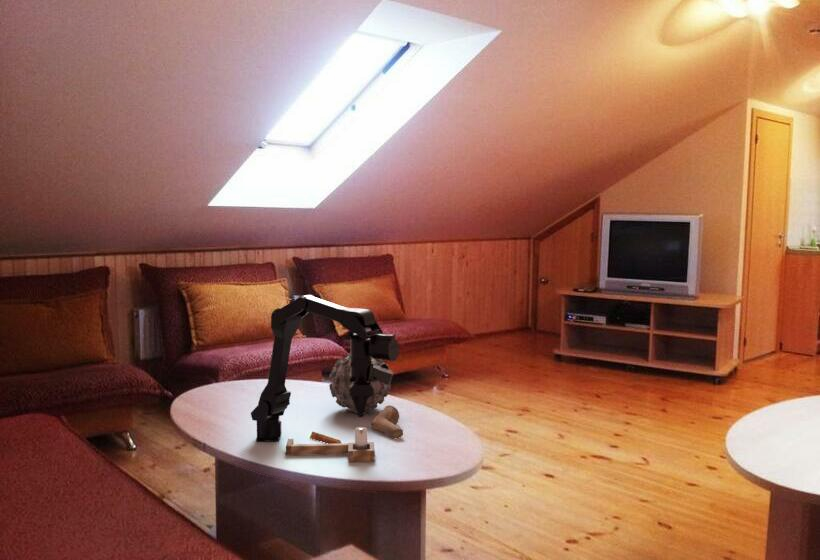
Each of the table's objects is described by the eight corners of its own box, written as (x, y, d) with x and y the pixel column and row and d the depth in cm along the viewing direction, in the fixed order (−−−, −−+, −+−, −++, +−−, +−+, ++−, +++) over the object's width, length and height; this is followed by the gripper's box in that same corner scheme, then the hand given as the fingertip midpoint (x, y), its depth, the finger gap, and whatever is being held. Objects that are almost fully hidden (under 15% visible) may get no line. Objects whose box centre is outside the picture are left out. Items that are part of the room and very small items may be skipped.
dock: (283, 463, 188) (283, 452, 188) (288, 447, 201) (287, 437, 200) (374, 461, 190) (374, 450, 189) (373, 445, 203) (373, 435, 202)
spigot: (355, 459, 191) (355, 430, 190) (355, 455, 194) (355, 427, 194) (367, 459, 191) (367, 430, 191) (367, 455, 195) (366, 426, 194)
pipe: (391, 425, 206) (419, 414, 212) (361, 411, 220) (388, 402, 225) (394, 446, 208) (421, 434, 213) (364, 431, 221) (391, 421, 227)
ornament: (378, 400, 250) (378, 344, 249) (397, 416, 232) (398, 356, 230) (323, 406, 244) (323, 348, 242) (338, 422, 225) (338, 360, 223)
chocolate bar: (336, 449, 201) (336, 441, 201) (309, 439, 209) (308, 432, 209) (343, 446, 203) (343, 439, 203) (315, 437, 211) (315, 430, 211)
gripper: (393, 364, 182) (393, 423, 183) (389, 349, 200) (389, 404, 202) (349, 364, 181) (349, 424, 182) (349, 350, 199) (349, 405, 201)
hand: (361, 414), depth 192 cm, fingers open, 5 cm apart
